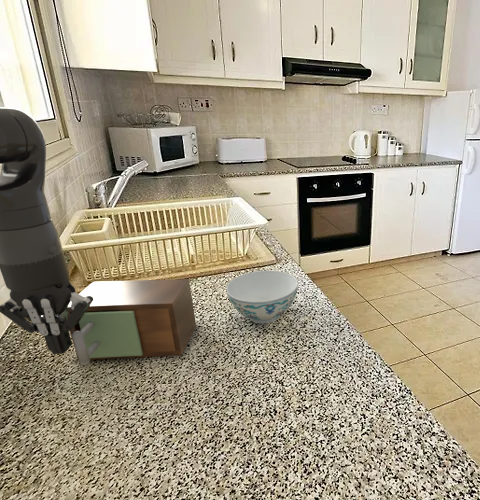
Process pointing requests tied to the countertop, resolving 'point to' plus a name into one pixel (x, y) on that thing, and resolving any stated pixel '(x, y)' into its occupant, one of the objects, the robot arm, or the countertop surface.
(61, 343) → the robot arm
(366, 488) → the countertop surface
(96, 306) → the cupboard
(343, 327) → the countertop surface
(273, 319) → the chinaware
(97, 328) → the slide door
